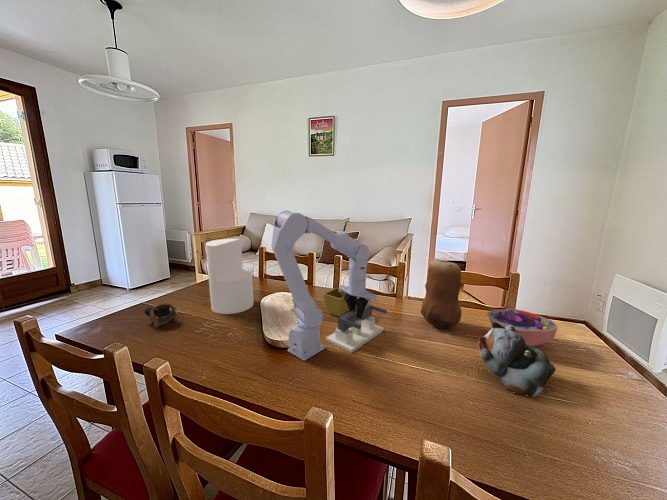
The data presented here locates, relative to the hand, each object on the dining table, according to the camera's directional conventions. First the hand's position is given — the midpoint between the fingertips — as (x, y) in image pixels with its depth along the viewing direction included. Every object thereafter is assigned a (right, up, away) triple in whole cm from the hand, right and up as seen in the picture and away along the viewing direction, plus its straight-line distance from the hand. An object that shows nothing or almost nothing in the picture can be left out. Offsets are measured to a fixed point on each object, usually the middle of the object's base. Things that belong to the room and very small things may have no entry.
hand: (356, 315), depth 96 cm
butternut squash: (+32, -6, +9) cm, 34 cm away
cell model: (+55, -9, -1) cm, 55 cm away
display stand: (0, -7, +2) cm, 7 cm away
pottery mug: (-73, -5, +10) cm, 74 cm away
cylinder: (-52, -2, +26) cm, 58 cm away
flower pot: (-6, -4, +19) cm, 20 cm away
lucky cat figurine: (+41, -12, -20) cm, 47 cm away
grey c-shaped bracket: (+2, -2, -2) cm, 4 cm away
